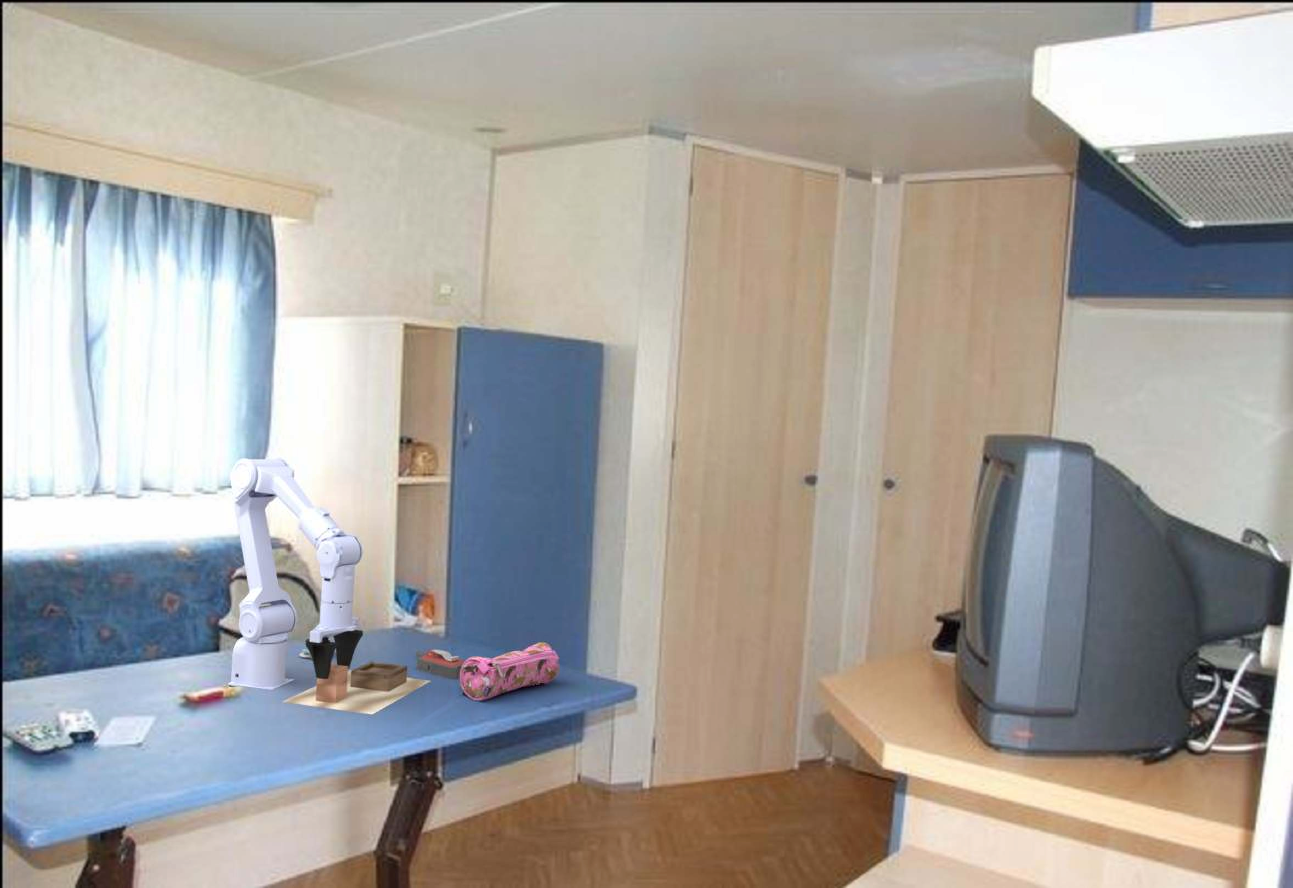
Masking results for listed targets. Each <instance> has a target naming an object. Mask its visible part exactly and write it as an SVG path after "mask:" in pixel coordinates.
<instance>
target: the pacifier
mask: <svg viewBox="0 0 1293 888" xmlns="http://www.w3.org/2000/svg"><path fill="white" fill-rule="evenodd" d="M299 657H301V658H304V659H305V658H306V659H307V658H308V659H312V657H311V654H310V652H309V650H308V649H304V648H302V652H300V653H299Z"/></svg>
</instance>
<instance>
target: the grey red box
mask: <svg viewBox="0 0 1293 888" xmlns="http://www.w3.org/2000/svg"><path fill="white" fill-rule="evenodd" d="M415 656H417V659H416V668H415V670H416V671H419V672H423V673H427V674H430V675H435V676H437V677H442V678H446V679H450V680H459V679H458V678H460V670H461V667H462V665H463V664H464V662H465V661H466V660H464V659H460V656H459V655H455V656H453V655H452V654H451V653H450V652H448V651H445V650H441V649H437V648H436V649H432V650H428V651H427V652H424V651H419V650H417V651H415Z"/></svg>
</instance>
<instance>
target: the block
mask: <svg viewBox="0 0 1293 888" xmlns="http://www.w3.org/2000/svg"><path fill="white" fill-rule="evenodd" d="M348 671H349V669H348V666H342V665H337V664H334V663H331V669H330V674H329V677H328V679H320V678H316V686H317V687H316V701H321V702H328V703H337V702H339V701H341V700H343V699H345V698H346V694H347V678H348Z"/></svg>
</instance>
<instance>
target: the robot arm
mask: <svg viewBox="0 0 1293 888" xmlns="http://www.w3.org/2000/svg"><path fill="white" fill-rule="evenodd" d="M294 477H295V470H294V469H293V468H292V467H291V465H290V464H289V463H288V462H287V460H286V459H284V458H281V457H279V458H269V459H268V458H262V459H261V458H260V459H259V458H258V459H256V458H254V459H250V458H241V459H239V460H237V461H236V463H235V464H234V466H233V468H232V469H231V472H230V473H229V479H230V484H231V491H232V495H233V502H234V503H233V504H234V509H235V511H234V512H235V517H236V522H237V527H238V529H237V530H238V533H239V539H240V545H241V550H242V557H243V563H244V567H245V573H246V580H247V586H248V591H249V592H248V594H247V595H246V596H245V598H243V599H242V600H241V602H240V603H239V604H238V606H239V619H238V628H239V631H240V634H241V635H242V637H240V638H239V639H238V640H237V641H236V642H235V644H234V647H233V650H232V658H231V674H230V682H228V686H229V685H231V686H232V687H239V686H243V687H250V688H259V689H264V690H274V689H277V688H279V687H280V686H283V685H286V684H288V683H291V682H293V681H294V680H295V679H293V678H287V677H286V667H287V666H286V665H287V664H286V662H287V646H288V639H290V638H291V634H292V633H293V632H294V631H295V629H296V628H297V626H298V621H299V619H298V612H297V610H296V608H295V606H294V605H293V602H292V599H291V594H289V593H288V592H287V591H285V590H283V588H282V587H280V586H279V582H278V575H277V569H276V564H275V558H274V553H273V546H272V541H271V536H270V530H269V524H268V519H267V514H266V513H267V512H266V509H267V506H269V504H270V503H271V502H273V501H274V500H275V499H276V498H278V499H279V500H280V502H282V503H283V504H284V505H285V506H286V507H287V508H288V509H289V510H290V511H291V512H292V513H293V514H294V515H295V516H296V517H297V518H298V528H299V530H300V531H301V533H302V534H303V535H304V536H305V538H306V539H308V541H309V542H310V543H311V545H312V546H313V547H314V548H315V549H316V551H315V554H316V555H315V556H316V560H317V562H318V564H319V574H320V576H321V598H320V612H319V613H320V614H319V623H318V624H317V625H316V626H315V628H314V629H312V630H310V631H309V638H307V639H305V646H306V648H307V650H309V652H310V654H311V657H312V658H311V660H312V664H313V668H314V673H315V678H316V679H317V678H320V679H328V677H329V674H330V669H331V664H332V661H333V657H334V654H335V655H336V665H342V666H348V670H349V669H350V667H351V665H352V660H353V657H354V654H355V651H356V649H357V646H358V644H359V642H360V640H361V639H362V637H363V635H364V631H363V630H360V629H359V628H360V617H354V616H353V608H354V606H353V604H354V590H355V575H356V574H355V571H356V565H358V564H359V563H360V561H361V560H362V557H363V553H364V551H363V546H362V543H361V541H360V540H359V537H358V536H356V535H355V534H349V533H347V532H346V531H345V532H344V530H343V529H342V527H340V526H339V525H338V524H337V522H335V519H333V518H332V517H331V513H330V512H329V510H328V509H324V508H322V507H315V506H314V505H313V504H312V502H311V500H310V499H309V497H308V495H307V494H306V493H305V492H304V491H303V489H302V488H301V486H300V485H299V484H298V482H297V481H296V479H295V478H294ZM332 637H333V641H331V640H330V639H329V638H332ZM335 652H336V653H335ZM310 654H309V655H310ZM231 686H230V687H231Z"/></svg>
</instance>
